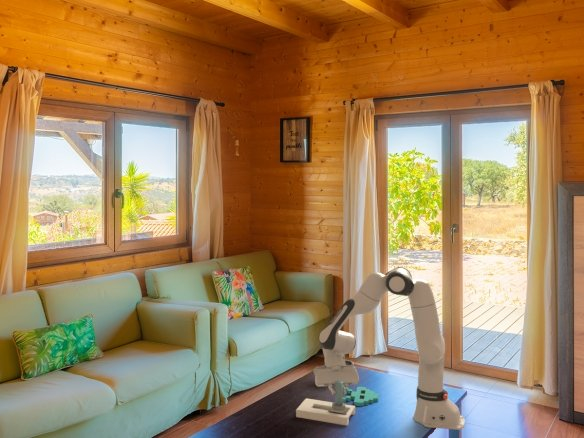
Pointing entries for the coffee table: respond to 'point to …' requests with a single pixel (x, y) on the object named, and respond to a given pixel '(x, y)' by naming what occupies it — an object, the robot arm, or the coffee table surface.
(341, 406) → the round-topped green peg
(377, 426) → the coffee table surface
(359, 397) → the alien figure
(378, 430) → the coffee table surface
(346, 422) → the keyhole track
